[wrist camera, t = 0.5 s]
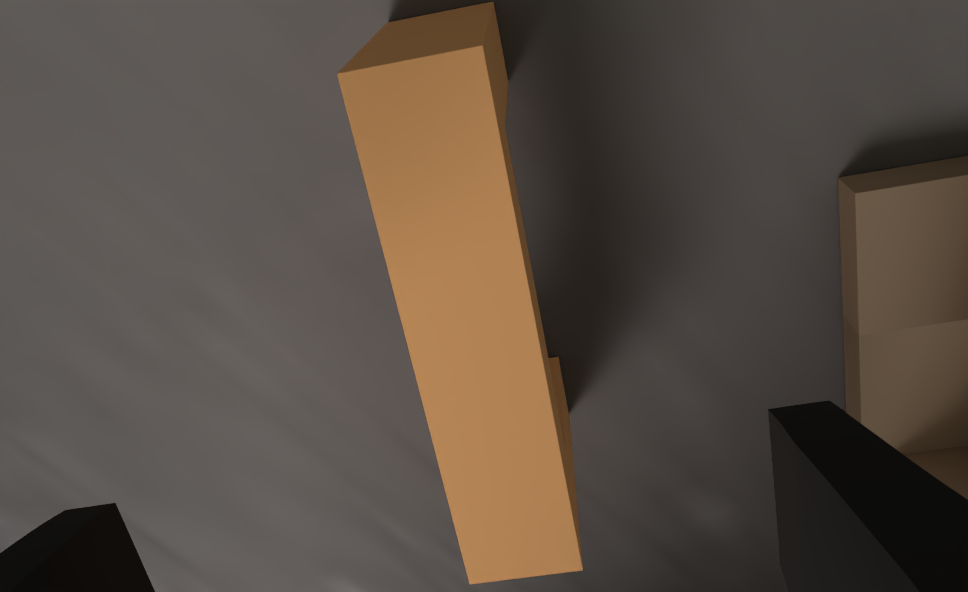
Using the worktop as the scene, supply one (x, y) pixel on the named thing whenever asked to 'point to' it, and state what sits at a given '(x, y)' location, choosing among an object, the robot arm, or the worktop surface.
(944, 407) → the hook stand
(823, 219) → the worktop surface
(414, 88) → the tan wooden angled block
